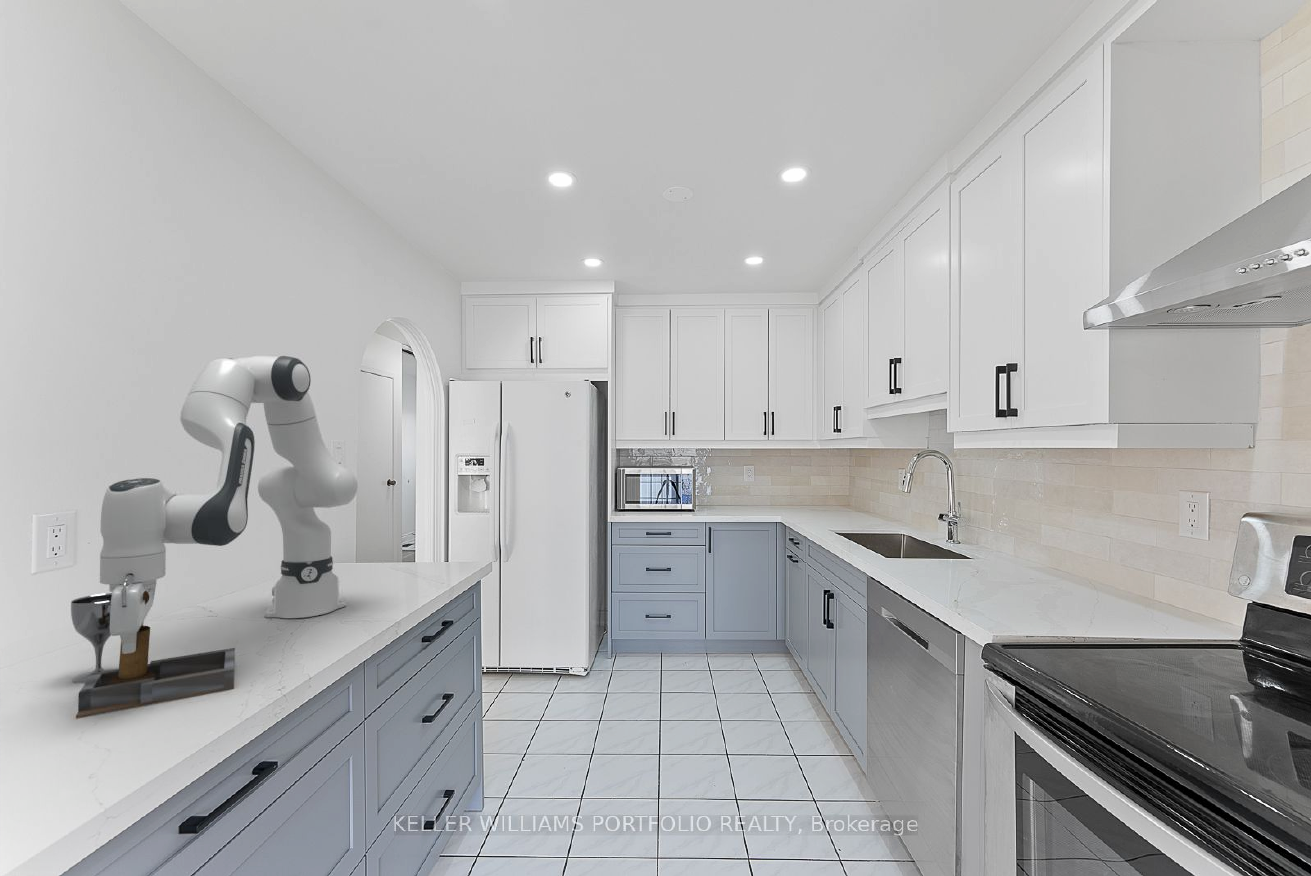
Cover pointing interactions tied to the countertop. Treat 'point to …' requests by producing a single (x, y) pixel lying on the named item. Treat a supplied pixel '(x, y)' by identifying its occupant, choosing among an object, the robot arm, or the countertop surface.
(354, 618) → the countertop surface
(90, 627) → the wine glass
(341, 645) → the countertop surface
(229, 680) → the tray
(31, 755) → the countertop surface
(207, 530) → the robot arm
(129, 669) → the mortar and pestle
